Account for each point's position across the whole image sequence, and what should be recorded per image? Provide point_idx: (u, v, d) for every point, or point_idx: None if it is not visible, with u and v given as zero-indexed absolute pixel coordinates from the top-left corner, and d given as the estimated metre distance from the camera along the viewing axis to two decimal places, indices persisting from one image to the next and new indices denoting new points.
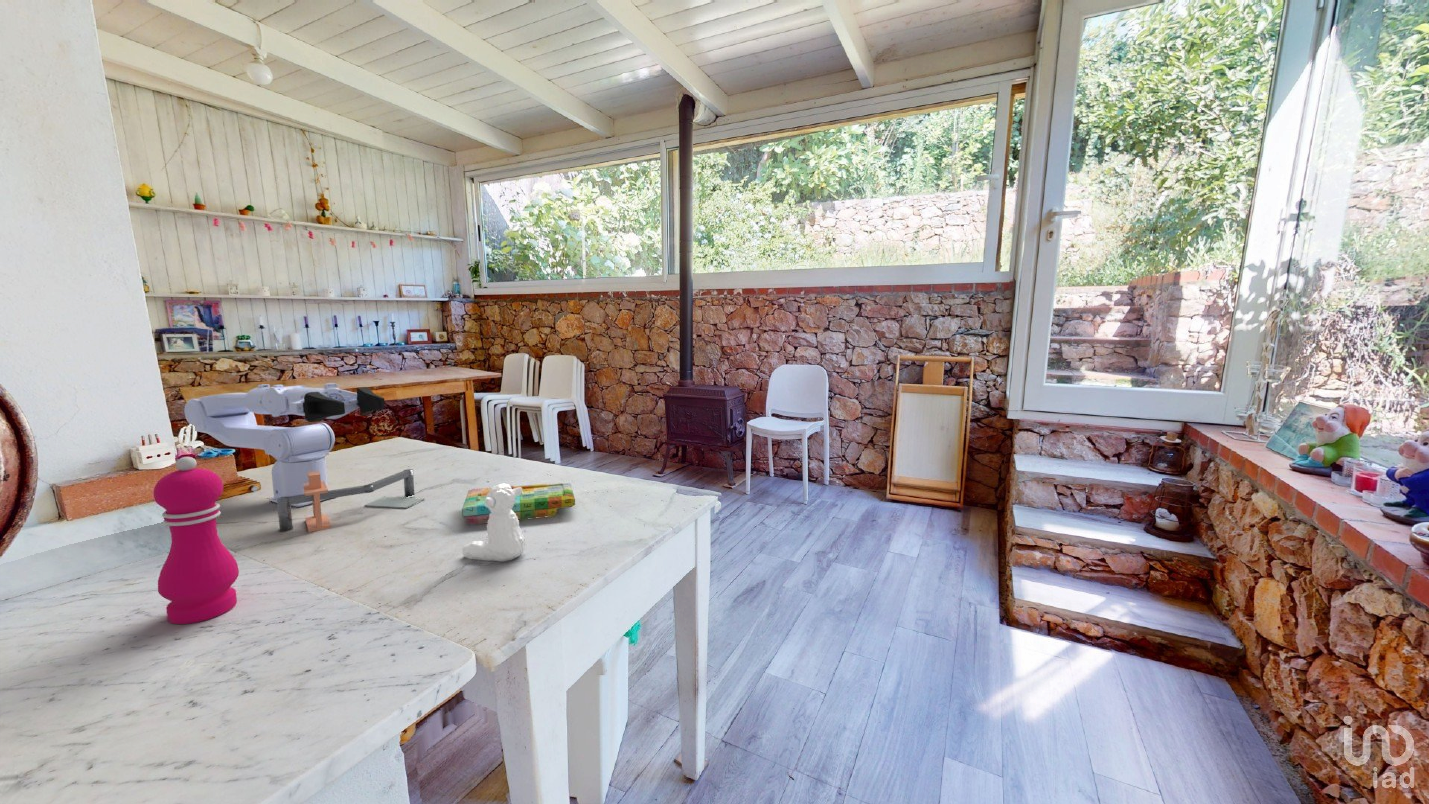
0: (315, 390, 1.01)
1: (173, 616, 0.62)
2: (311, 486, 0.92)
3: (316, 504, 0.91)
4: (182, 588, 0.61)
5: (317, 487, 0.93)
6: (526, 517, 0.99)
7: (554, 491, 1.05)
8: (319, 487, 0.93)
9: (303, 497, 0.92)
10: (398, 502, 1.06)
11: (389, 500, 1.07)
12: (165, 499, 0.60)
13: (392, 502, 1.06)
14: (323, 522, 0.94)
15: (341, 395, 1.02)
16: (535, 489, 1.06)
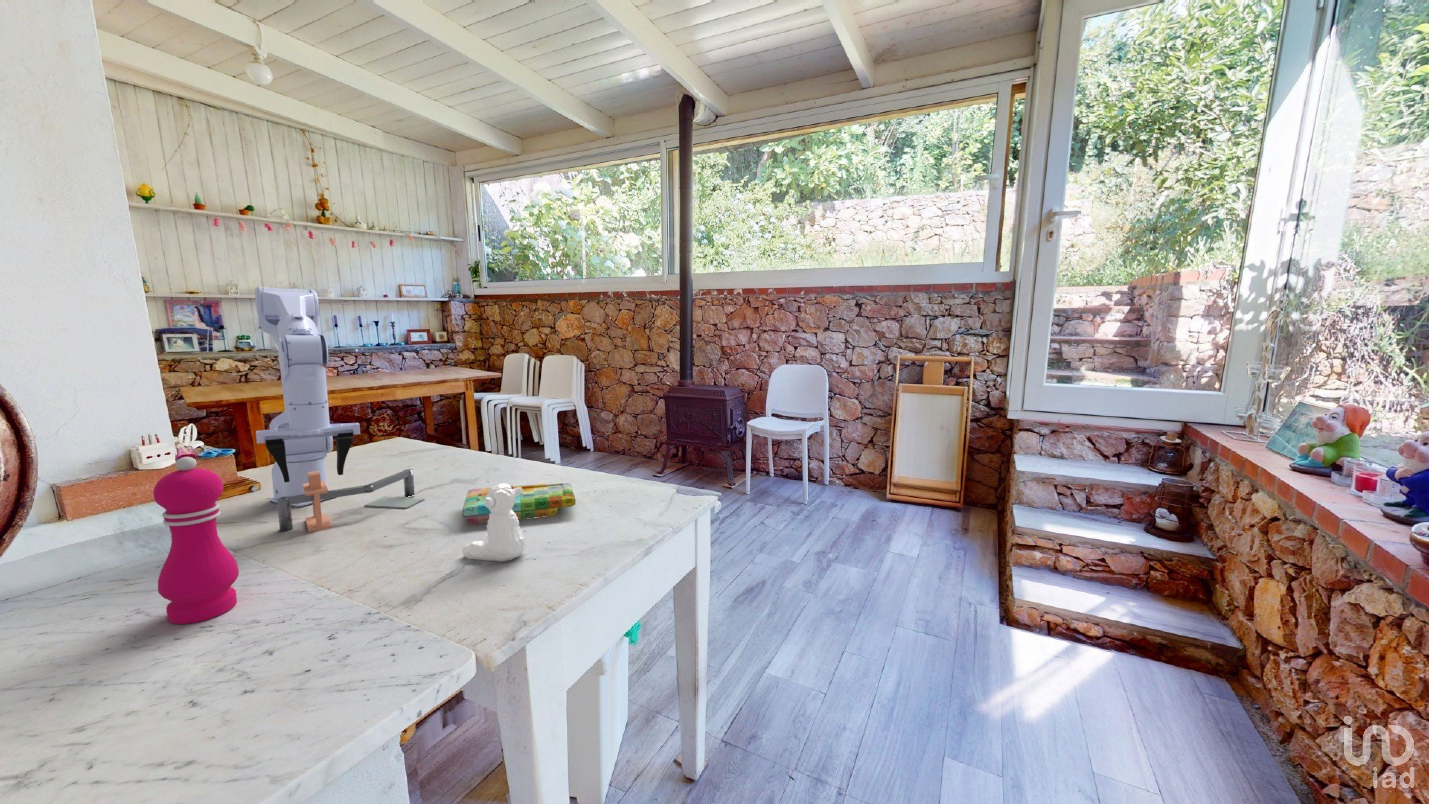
0: (301, 415, 0.89)
1: (173, 616, 0.62)
2: (311, 486, 0.92)
3: (316, 504, 0.91)
4: (182, 588, 0.61)
5: (317, 487, 0.93)
6: (527, 516, 0.99)
7: (554, 491, 1.05)
8: (319, 487, 0.93)
9: (303, 497, 0.92)
10: (398, 502, 1.06)
11: (389, 500, 1.07)
12: (165, 499, 0.60)
13: (392, 502, 1.06)
14: (323, 522, 0.94)
15: None
16: (535, 489, 1.07)
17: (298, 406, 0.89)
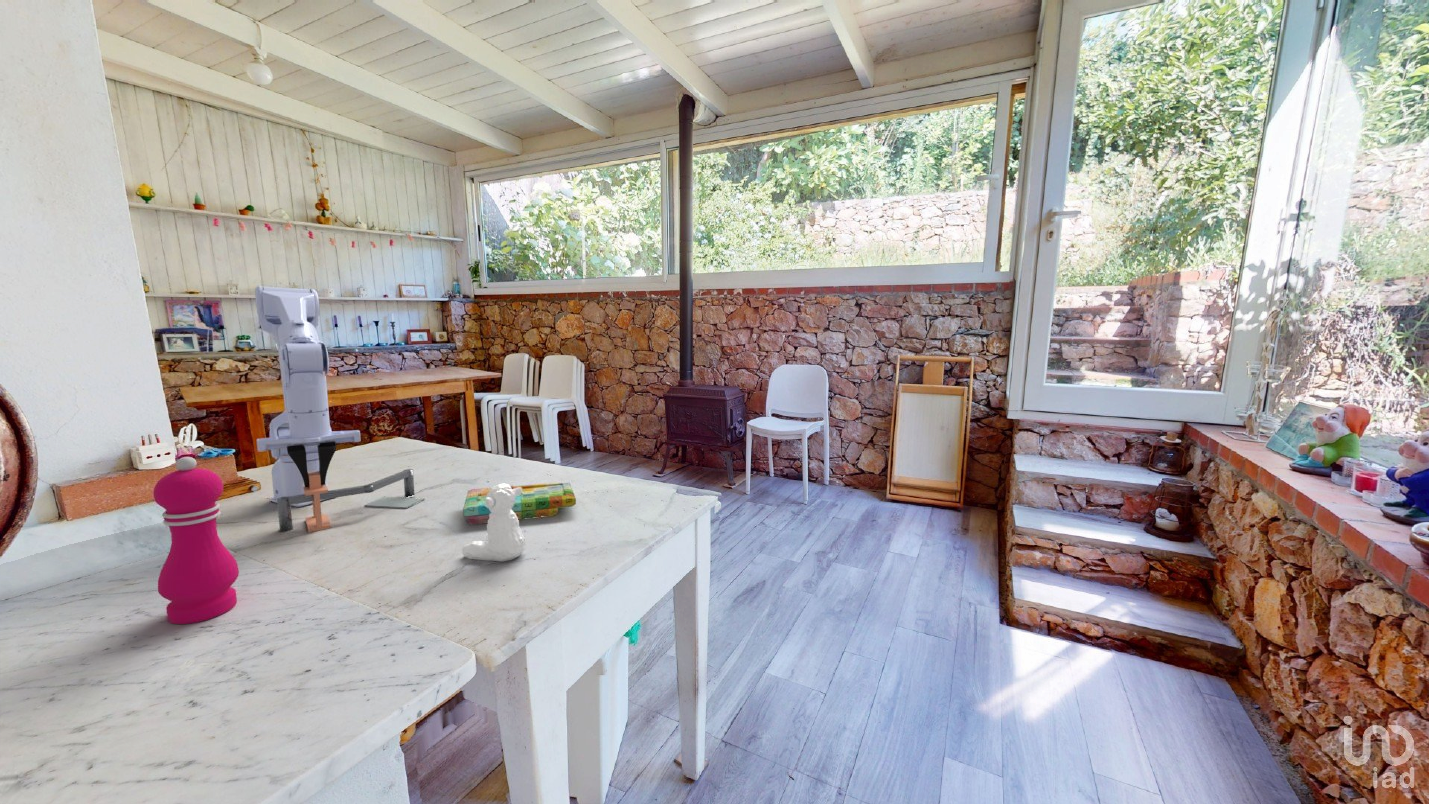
0: (302, 423, 0.89)
1: (173, 616, 0.62)
2: (311, 486, 0.92)
3: (316, 504, 0.91)
4: (182, 588, 0.61)
5: (317, 487, 0.93)
6: (527, 516, 0.99)
7: (554, 491, 1.05)
8: (319, 487, 0.93)
9: (303, 497, 0.92)
10: (398, 502, 1.06)
11: (389, 500, 1.07)
12: (165, 499, 0.60)
13: (392, 502, 1.06)
14: (323, 522, 0.94)
15: None
16: (534, 489, 1.07)
17: (299, 414, 0.89)
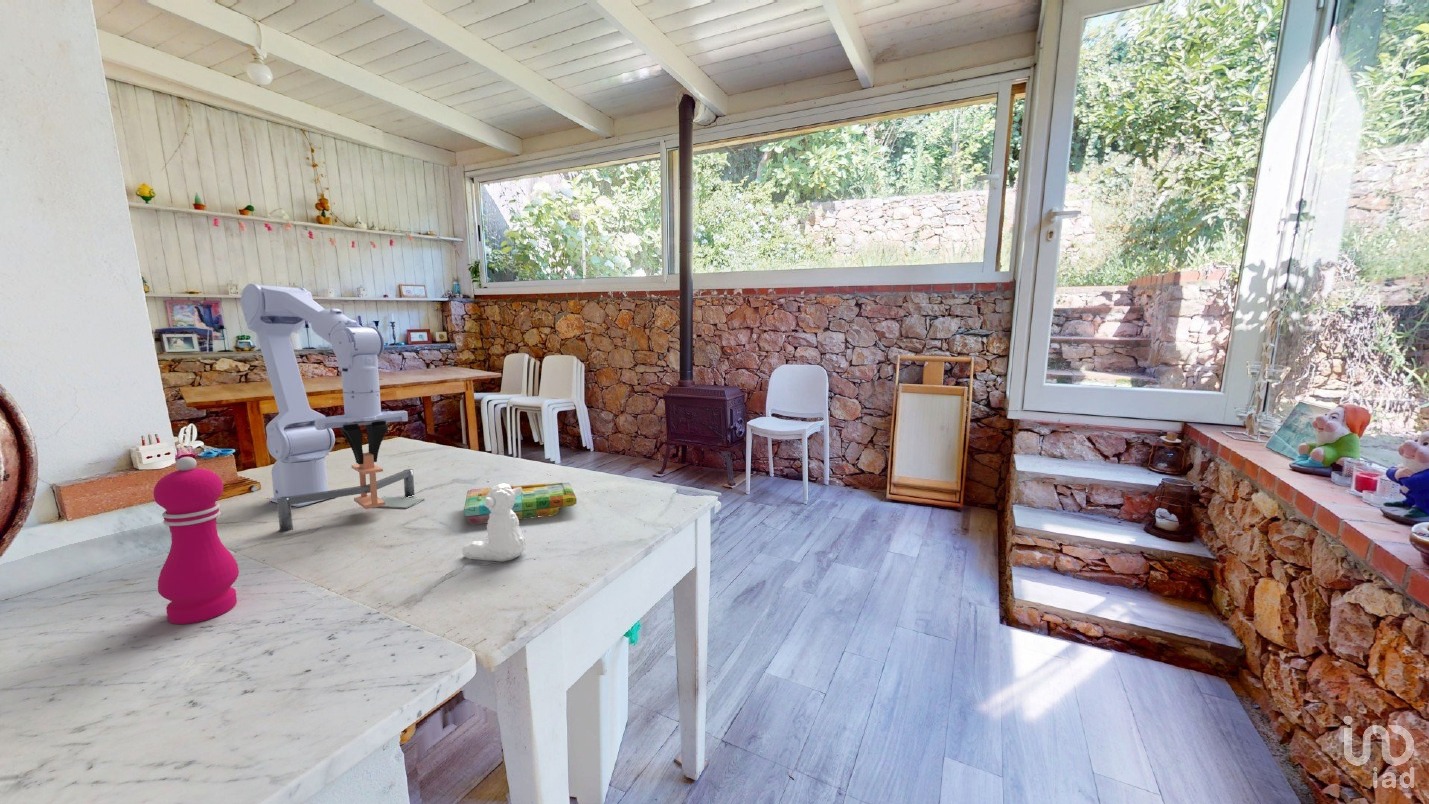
0: (359, 403, 0.94)
1: (173, 616, 0.62)
2: (365, 466, 0.97)
3: (372, 482, 0.97)
4: (182, 588, 0.61)
5: (371, 467, 0.98)
6: (528, 516, 0.99)
7: (554, 491, 1.06)
8: (372, 467, 0.98)
9: (303, 497, 0.92)
10: (398, 502, 1.06)
11: (389, 500, 1.07)
12: (165, 499, 0.60)
13: (392, 502, 1.06)
14: None
15: None
16: (534, 489, 1.07)
17: (356, 394, 0.94)
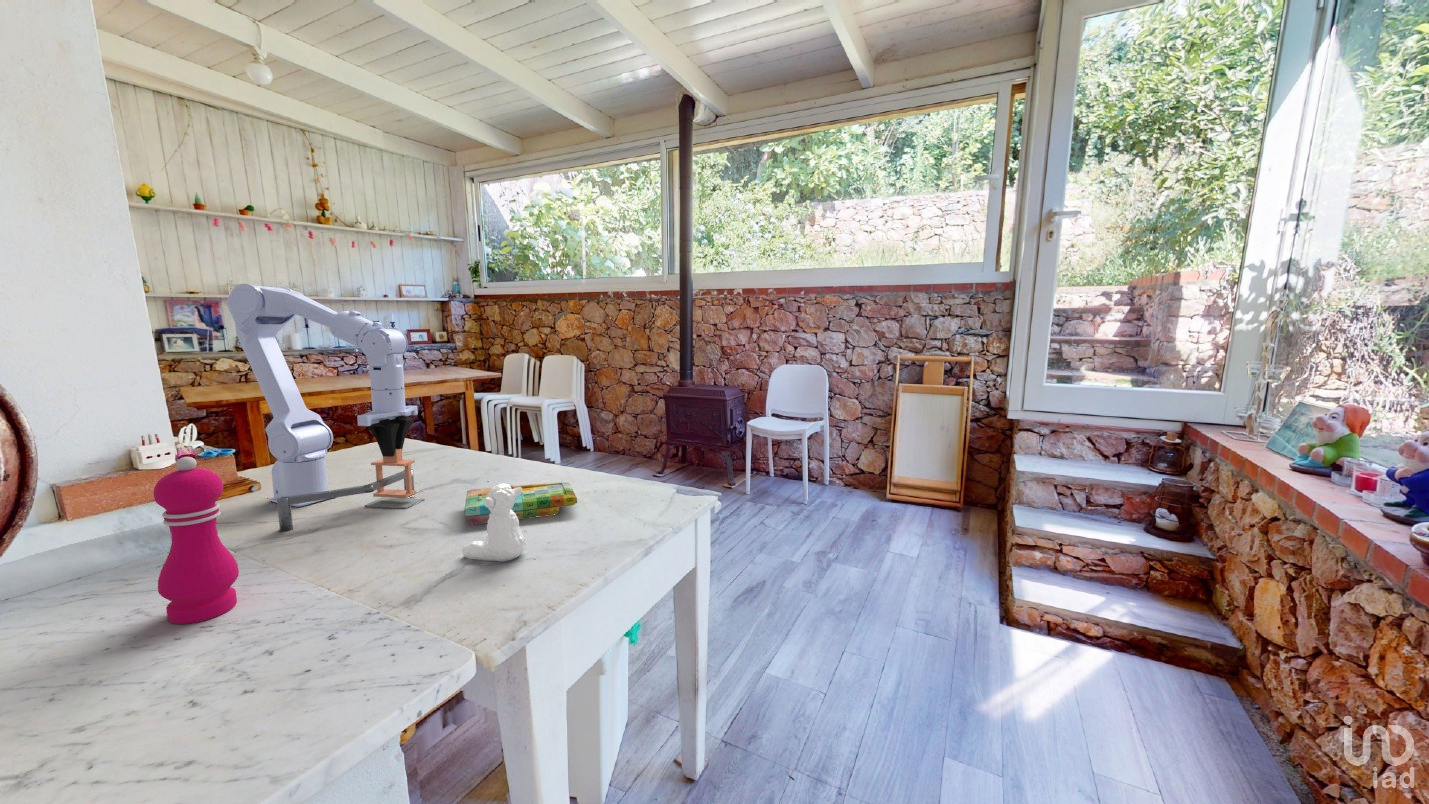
0: (396, 399, 1.02)
1: (173, 616, 0.62)
2: (397, 459, 1.05)
3: (409, 473, 1.05)
4: (182, 588, 0.61)
5: (400, 460, 1.06)
6: (529, 516, 1.00)
7: (554, 490, 1.06)
8: (401, 460, 1.06)
9: (303, 497, 0.92)
10: (398, 502, 1.06)
11: (389, 500, 1.07)
12: (165, 499, 0.60)
13: (392, 502, 1.06)
14: (403, 491, 1.07)
15: None
16: (534, 488, 1.07)
17: (394, 391, 1.02)
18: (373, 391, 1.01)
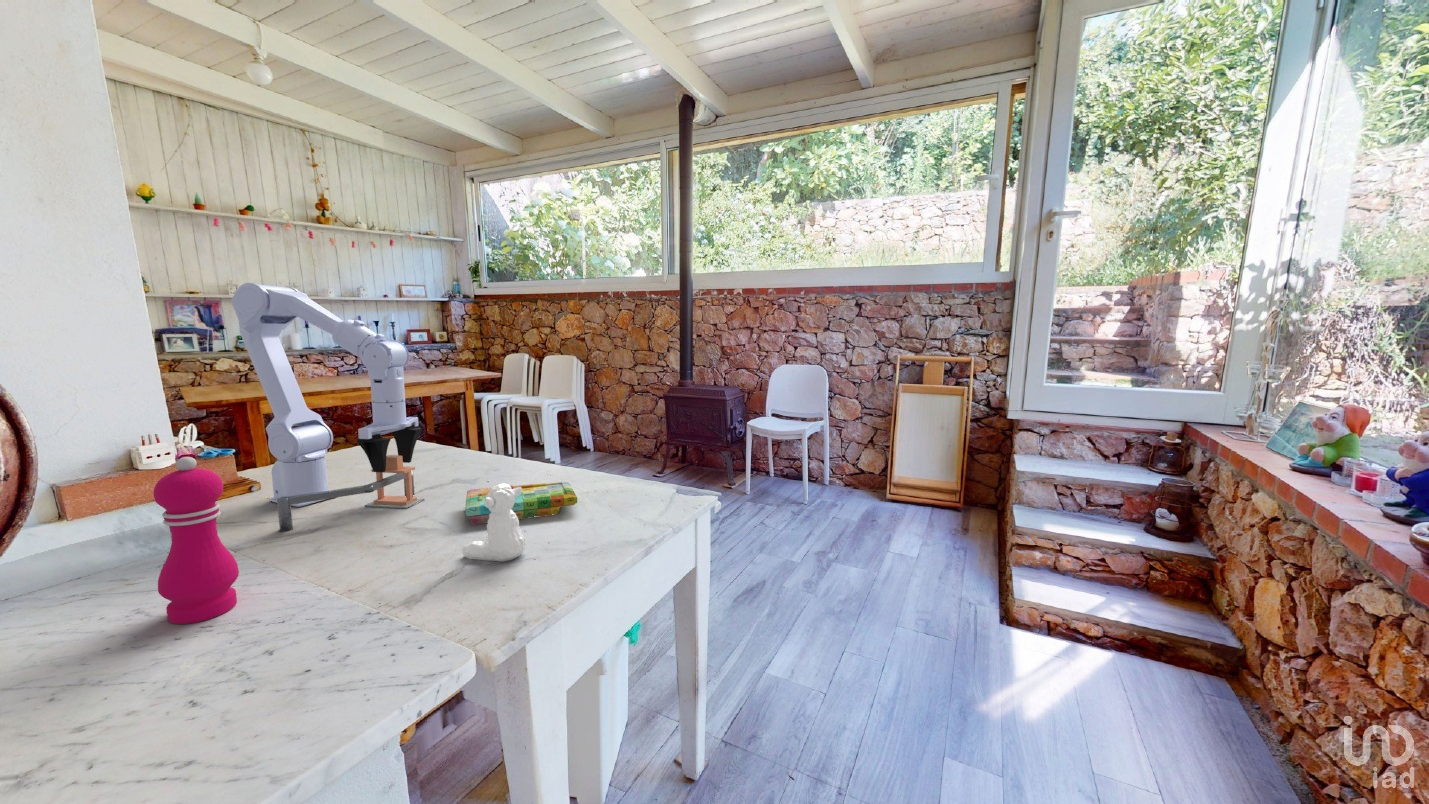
0: (397, 411, 1.03)
1: (173, 616, 0.62)
2: (398, 466, 1.05)
3: (409, 480, 1.06)
4: (182, 588, 0.61)
5: (401, 467, 1.06)
6: (529, 515, 1.00)
7: (554, 490, 1.06)
8: (402, 467, 1.06)
9: (303, 497, 0.92)
10: None
11: None
12: (165, 499, 0.60)
13: None
14: (404, 498, 1.07)
15: None
16: (534, 488, 1.07)
17: (395, 403, 1.02)
18: (374, 404, 1.01)
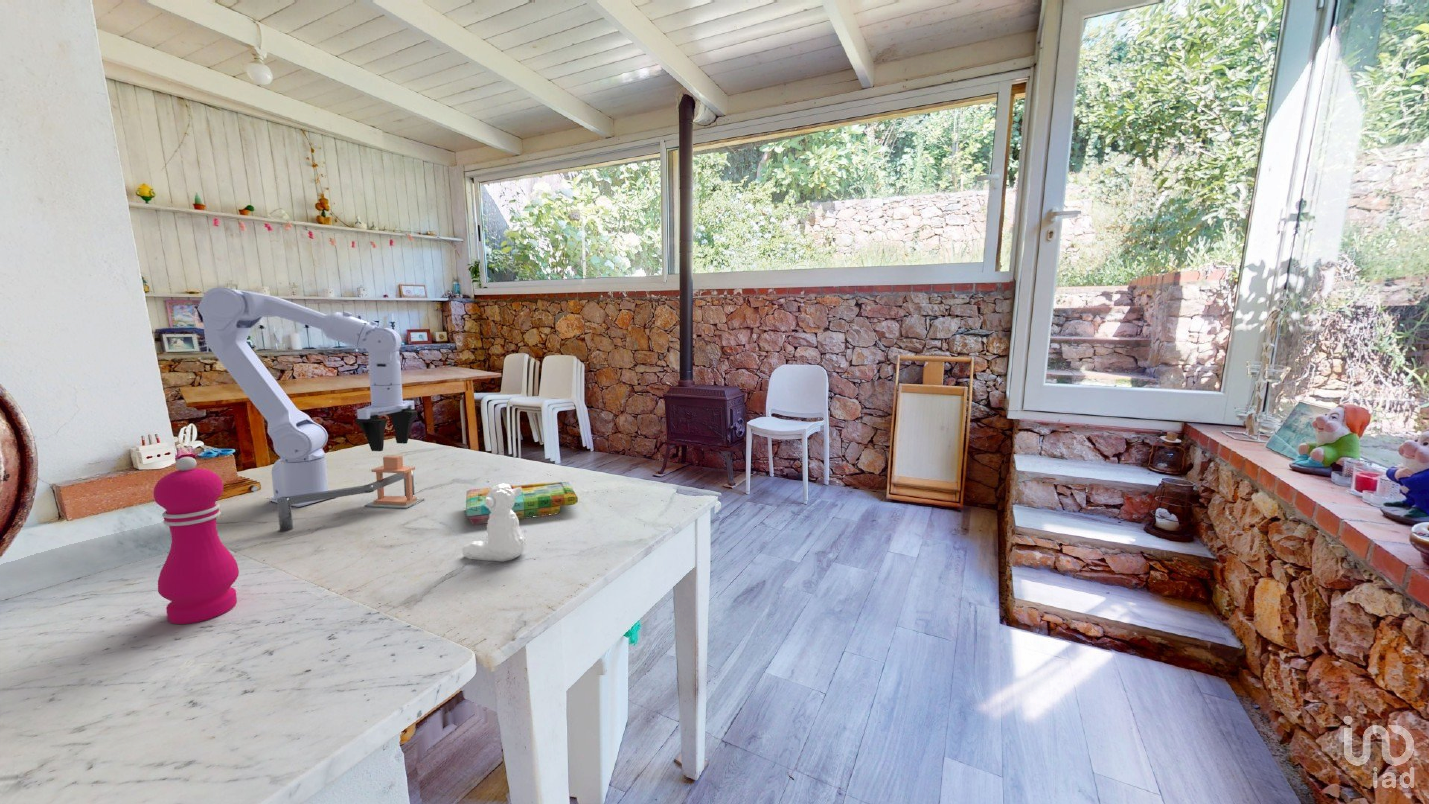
0: (394, 394, 1.09)
1: (173, 616, 0.62)
2: (398, 466, 1.05)
3: (409, 480, 1.06)
4: (182, 588, 0.61)
5: (401, 467, 1.06)
6: (530, 515, 1.00)
7: (554, 490, 1.06)
8: (402, 467, 1.06)
9: (303, 497, 0.92)
10: None
11: None
12: (165, 499, 0.60)
13: None
14: (404, 498, 1.07)
15: None
16: (534, 488, 1.07)
17: (392, 386, 1.08)
18: (372, 386, 1.07)
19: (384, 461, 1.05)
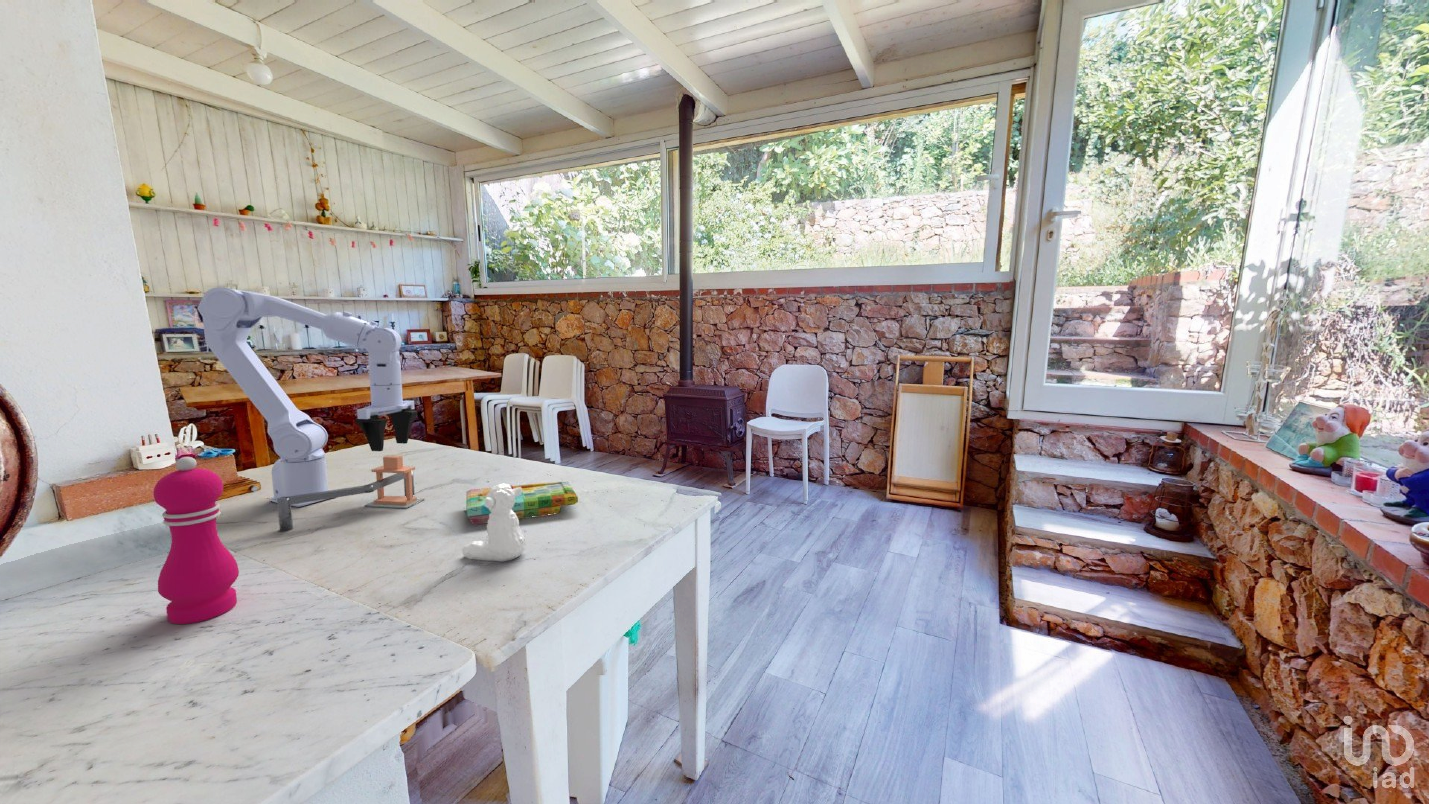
0: (394, 394, 1.09)
1: (173, 616, 0.62)
2: (398, 466, 1.05)
3: (409, 480, 1.06)
4: (182, 588, 0.61)
5: (401, 467, 1.06)
6: (530, 515, 1.00)
7: (554, 490, 1.06)
8: (402, 467, 1.06)
9: (303, 497, 0.92)
10: None
11: None
12: (165, 499, 0.60)
13: None
14: (404, 498, 1.07)
15: None
16: (534, 488, 1.07)
17: (392, 386, 1.08)
18: (372, 386, 1.07)
19: (384, 461, 1.05)
